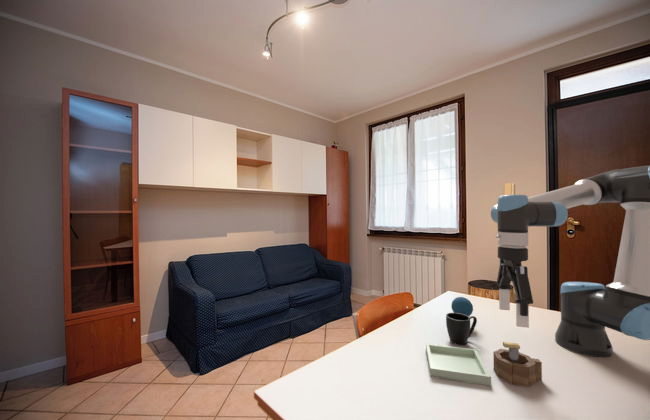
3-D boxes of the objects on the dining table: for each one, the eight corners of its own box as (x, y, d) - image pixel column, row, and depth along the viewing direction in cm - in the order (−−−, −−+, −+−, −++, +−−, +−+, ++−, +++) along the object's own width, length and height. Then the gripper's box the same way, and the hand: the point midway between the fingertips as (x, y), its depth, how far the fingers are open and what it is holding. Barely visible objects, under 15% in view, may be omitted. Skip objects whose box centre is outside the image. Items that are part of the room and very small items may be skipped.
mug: (484, 344, 100) (484, 319, 100) (455, 348, 98) (455, 321, 98) (468, 335, 108) (468, 311, 108) (441, 337, 106) (441, 313, 106)
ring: (532, 370, 84) (532, 352, 84) (548, 389, 75) (548, 369, 75) (490, 364, 87) (490, 347, 87) (501, 383, 78) (501, 363, 78)
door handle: (519, 372, 83) (519, 341, 83) (526, 382, 78) (526, 348, 78) (501, 370, 84) (500, 339, 84) (506, 379, 80) (506, 346, 80)
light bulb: (473, 323, 119) (473, 296, 119) (472, 331, 112) (472, 301, 112) (452, 319, 123) (452, 293, 124) (450, 326, 116) (450, 298, 116)
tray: (476, 356, 92) (476, 349, 92) (491, 385, 77) (491, 376, 77) (425, 350, 96) (425, 343, 96) (430, 376, 81) (430, 368, 81)
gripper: (485, 241, 95) (486, 302, 94) (514, 251, 71) (515, 333, 70) (510, 242, 92) (510, 304, 92) (549, 252, 68) (549, 337, 68)
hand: (512, 317), depth 81 cm, fingers open, 13 cm apart
